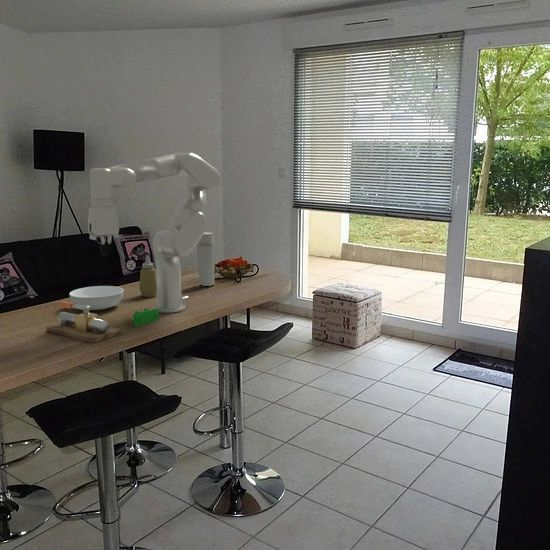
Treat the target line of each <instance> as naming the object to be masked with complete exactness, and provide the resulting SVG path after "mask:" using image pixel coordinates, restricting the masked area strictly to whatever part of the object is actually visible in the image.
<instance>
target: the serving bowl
mask: <svg viewBox="0 0 550 550" xmlns="http://www.w3.org/2000/svg"><path fill="white" fill-rule="evenodd" d="M124 291H125V290H124V288H123V287H120V286H113V285H97V286H96V285H95V286H86V287H82V288H81V287H80V288H77V289H73V290H72V291H70V292H69V294H68V295H69V299H70V302H75V303H76V304H79V305H84V306H85V305H89V306H90V310H89V311H103V310H107V309H110V308H112V307H115V306H116V305H118V304H119V303H120V302H121V300H122V299H123V297H124Z"/></svg>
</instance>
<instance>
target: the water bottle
mask: <svg viewBox="0 0 550 550" xmlns="http://www.w3.org/2000/svg"><path fill="white" fill-rule="evenodd" d="M214 244H215V239H214V233H213V232H204V234H203V236H202V237H201V238H200V240H199V241H198V243H197V244H196V247H197V250H196V255H197V257H196V259H195V260H196V261H195V270H194V271H195V275H196V276H198V278H199V280H198V281H199V286H200V285H203V286H206V285H213V284H214V285H215V247H214V246H215V245H214ZM197 262H198V263H197ZM197 264H198V265H197ZM197 267H198V273H197Z"/></svg>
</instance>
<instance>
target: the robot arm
mask: <svg viewBox="0 0 550 550" xmlns="http://www.w3.org/2000/svg"><path fill="white" fill-rule="evenodd" d="M178 176H185V183H186V186H187V188H186V189H187V195H186V198H185V199H184V201H183V202H182V204H181V205H180V206H179V208H178V209H177V210H176V211H175V213H174V215H173V216H172V217H171V220H170V226H171V228H172V229H173V230H168V229H164V230H163V229H162V230H160V231H158V232H156V233H155V235H154V237H153V240H152V249H153V252H154V258H155V269H156V278H157V293H156V299H157V300H156V301H157V303H156V304H155V305H154V306H153V309H155V308H157V309H158V313H163V314H166V313H167V314H169V313H179V312H182V311H185V310H186V305H185V304H184V302H186V301H189V300H190V297H189V296H188V295H185V296H184V295H183V296H182V274H181V273H182V272H181V261H180V258H185V257H186V256H188V255H189V254H191V252H192V251H193V249H194V248H195V247H196V246H197V244H199V243H198V241H199V240H200V238H201V237H202V236H203V234H204V233H206V230H207V226H208V219H207V217H206V214H204V213H203V212H204V211H205V209H206V206H207V202H208V201H207V193H206V191H208V192H209V191H210V192H211V191H215V190H217V189H218V188H219V187H220V186H221V183H222V176H221V174H220V172H219V171H218V169H217V168H215V167H213V166H212V165H211V164H209V163H208V162H207V161H205V160H204V159H203V158H202V157H201V156H200V155H197V154H195V153H193V152H175V153H171V154H166V155H163V156H162V155H161V156H158V157H152V158H148V159H142V160H138V161H134V162H128V163H122V164H119V165H113V166H110V167H96V168H95V167H94V168H93V167H92V168H91V169H90V171H89V178H90V179H89V181H90V197H91V198H90V199H91V200H90V201H91V207H89V210H88V216H87V233H88V234H89V239H90V240H93V241H96V242H97V243H98V244H99V252H100V254H101V255H103V256H109V255H110V253H111V244H112V241H113V240H114V239H116V238H119V236H120V234H119V232H120V225H119V224H120V223H119V217H118V212H117V208H116V206H115V204H117V203H118V200H117V199H115V197H114V189H121V190H122V189H123V190H124V189H125V190H126V189H130V188H133V186H134V185H135V184H136V183H153V182H159V181H162V180H166V179H169V178H175V177H178Z"/></svg>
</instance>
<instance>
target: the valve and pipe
mask: <svg viewBox="0 0 550 550" xmlns="http://www.w3.org/2000/svg"><path fill="white" fill-rule="evenodd" d="M57 320H58V321H59V322H60V323H61V326H65V327H66V326H70V325H76V330H79V331H83V332H89V331H92V333H94V334H99V333H102V332H106V331H107V330H108V329H109V327H110V323H109V321H107V320H103V319H99V315H98V314H97V313H93V312H89V314H88V315H84V312H82V313H79V314H76V313H71V312H66V311H60V312H59V313H58V316H57Z"/></svg>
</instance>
